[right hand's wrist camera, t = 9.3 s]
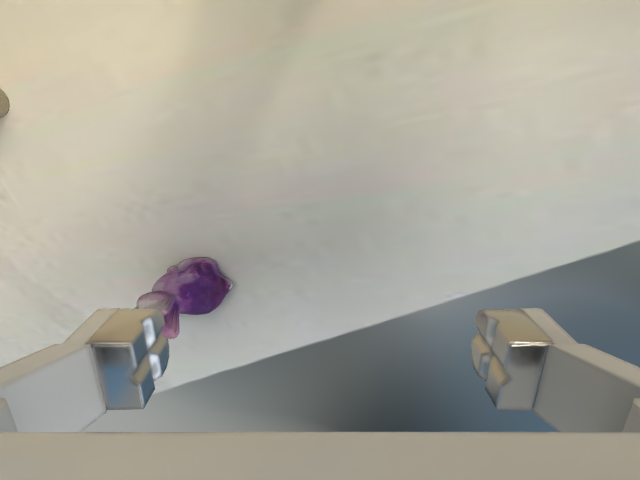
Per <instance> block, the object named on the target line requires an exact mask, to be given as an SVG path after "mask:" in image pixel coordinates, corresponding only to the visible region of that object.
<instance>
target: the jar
mask: <svg viewBox="0 0 640 480" xmlns="http://www.w3.org/2000/svg"><path fill="white" fill-rule="evenodd" d="M8 110H9V101H8V98H7V96H6V95H5V93H4V92H3V91H2V90H1V89H0V117H2V116H4V115H5V114H6V113H7V112H8Z"/></svg>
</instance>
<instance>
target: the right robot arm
mask: <svg viewBox="0 0 640 480" xmlns="http://www.w3.org/2000/svg"><path fill="white" fill-rule="evenodd" d="M164 326H165V320H164V315H163V312H162V311H161V310H160V309H120V308H110V309H98V310H97V311H96V312H95V313H94V314H93V315H92V316H90V317H89V318H88V319H87V320H86V321H85V322H84V323H83V324H82V325H81V326H80V327H79V328H78V329H77V330H76V331H75V332H74V333H73V334H72V335H71V336H70V337H68V338H67V339H66V340H65V341H64V342H63V343H62V344H54V345H52V346H50V347H47V348H45V349H43V350H40V351H38V352H36V353H33V354H31V355H29V356H26V357H24V358H21V359H19V360H17V361H14V362H12V363H10V364H7V365H5V366H3V367H0V480H640V368H639V367H637V366H635V365H632V364H630V363H628V362H625V361H623V360H621V359H618V358H616V357H614V356H611V355H609V354H607V353H604V352H602V351H600V350H597V349H595V348H593V347H590V346H588V345H586V344H578V343H577V342H576V341H575V340H574V339H573V338H572V337H571V336H569V335H568V334H567V333H566V332H565V331H564V330H563V329H562V328H561V327H560V326H559V325H558V324H557V323H556V322H555V321H554V320H553V319H552V318H551V317H550V316H549V315H548V314H546V313H545V312H544V311H543V310H541V309H538V308H530V309H491V310H479V311H478V313H477V315H476V319H475V326H476V327H477V329H478V331H479V333H478V334H477V335H476V336H475V337H474V338H473V339H472V345H471V359H472V364H473V367H474V370H475V371H476V373H477V375H478V376H479V377H480V378H482V379H483V380H485V381H486V387H485V390H486V391H487V393H488V395H489V397H490V398H491V400H492V402H493V404H494V405H495V407H496V409H512V410H513V409H514V410H533V412H534V413H535V414H537V415H538V416H539V417H541V418H542V419H543V420H544V421H546V422H547V423H548V424H550V425H551V426H552V427H554V428H555V429H556V430H557V431H559V432H81V431H83V430H84V429H85V428H86V427H88V426H89V425H90V424H92V423H93V422H94V421H96V420H97V419H98V418H100V417H101V416H102V415H103V414H105V413H106V412H107V410H127V409H144V407H145V405H146V404H147V402H148V400H149V398H150V397H151V395H152V393H153V391H154V390H155V387H154V381H155V380H157V379H158V378H160V377H161V376H162V375H163V373H164V371H165V370H166V367H167V363H168V359H169V344H168V339H167V338H166V337H165V336H164V335H163V334H162V333H161V331H162V329H163V327H164Z"/></svg>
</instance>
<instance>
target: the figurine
mask: <svg viewBox="0 0 640 480" xmlns="http://www.w3.org/2000/svg"><path fill="white" fill-rule="evenodd" d="M232 286H233V284H232V282H231V281H230V280H229V279H227V278H226V277H224V276H223V275H221V273H220V272H219V270H218V268H217V264H216V262H215V261H213V260H212V259H209V258H190V259H185V260H184V261H182V262H180V263H179V264H178V265H175V266H172V267H170V268H169V269H168V270H167V273H166V274H165V275H164V276H162V277H161V278H160V279H159V280H158V281H157V282H156V283H155V284H154V286H153V289H152V292H150V293H146V294H144V295H142V296H141V297H140V298H139V299H138V301H137V306H136V307H135V308H134V309H160V310H161V311H162V312H163V315H164V320H165V326H164V327H163V329H162V331H161V333H162V334H163V335H164V336H165V337H166V338H167V339H174V338H176V337H177V336H178V334H179V313H181V314H191V315H199V314H207V313H209V312H211V311H213V310H214V309H215V308H216V307H218V306H219V304H220V303H221V302H222V300H223V299H224V297H225V295H226V294H227V293H228V292H229V291H230V290H231V289H232Z"/></svg>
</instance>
